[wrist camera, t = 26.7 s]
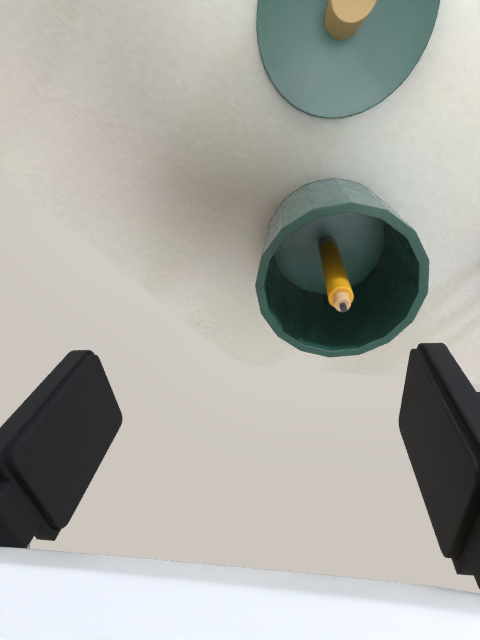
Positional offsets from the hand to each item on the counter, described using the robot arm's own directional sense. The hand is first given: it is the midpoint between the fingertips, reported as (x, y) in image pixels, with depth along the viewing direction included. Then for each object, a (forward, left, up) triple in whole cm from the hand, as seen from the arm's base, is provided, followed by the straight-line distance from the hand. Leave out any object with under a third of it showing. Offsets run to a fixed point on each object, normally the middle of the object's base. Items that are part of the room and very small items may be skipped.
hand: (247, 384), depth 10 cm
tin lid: (-12, +7, -24) cm, 27 cm away
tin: (+4, +4, -24) cm, 25 cm away
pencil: (+4, +4, -24) cm, 24 cm away
